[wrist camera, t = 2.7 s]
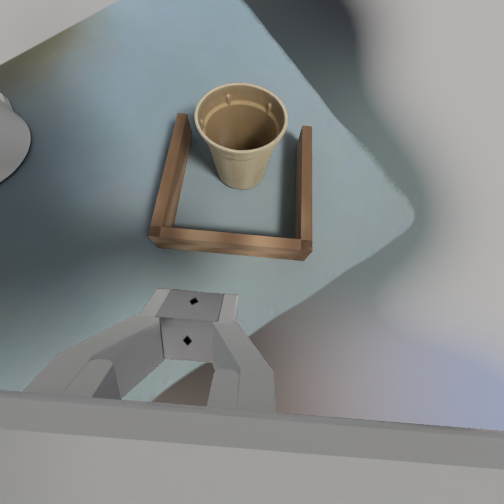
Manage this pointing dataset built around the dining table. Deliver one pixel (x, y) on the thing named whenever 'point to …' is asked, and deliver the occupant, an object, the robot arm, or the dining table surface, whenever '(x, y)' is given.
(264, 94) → the flower pot
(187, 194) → the dining table surface
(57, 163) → the dining table surface
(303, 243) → the wooden u-shaped frame
